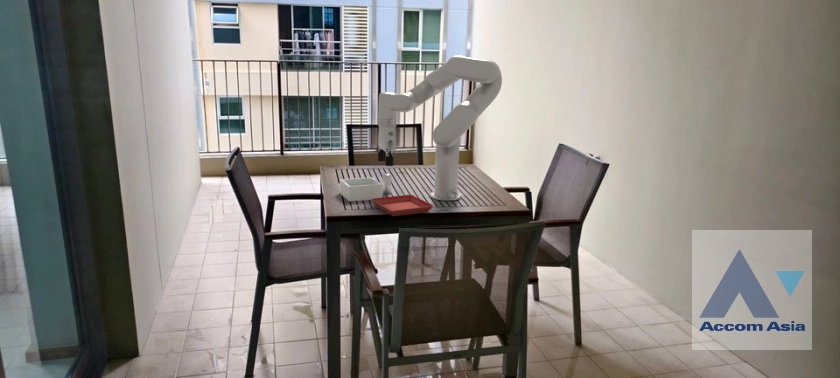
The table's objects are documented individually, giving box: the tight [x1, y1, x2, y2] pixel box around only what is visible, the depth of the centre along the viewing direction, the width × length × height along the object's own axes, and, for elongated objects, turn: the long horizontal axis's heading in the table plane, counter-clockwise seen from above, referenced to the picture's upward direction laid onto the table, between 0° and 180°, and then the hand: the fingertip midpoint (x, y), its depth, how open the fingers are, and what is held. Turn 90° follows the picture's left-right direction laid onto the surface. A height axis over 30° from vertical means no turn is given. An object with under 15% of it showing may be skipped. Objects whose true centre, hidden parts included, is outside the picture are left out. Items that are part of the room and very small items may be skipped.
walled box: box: [339, 176, 383, 202], centre depth 235 cm, size 14×14×6 cm
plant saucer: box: [370, 194, 434, 217], centre depth 217 cm, size 18×18×3 cm
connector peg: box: [381, 173, 392, 195], centre depth 241 cm, size 4×4×8 cm
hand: (385, 163), depth 239 cm, fingers open, 9 cm apart
